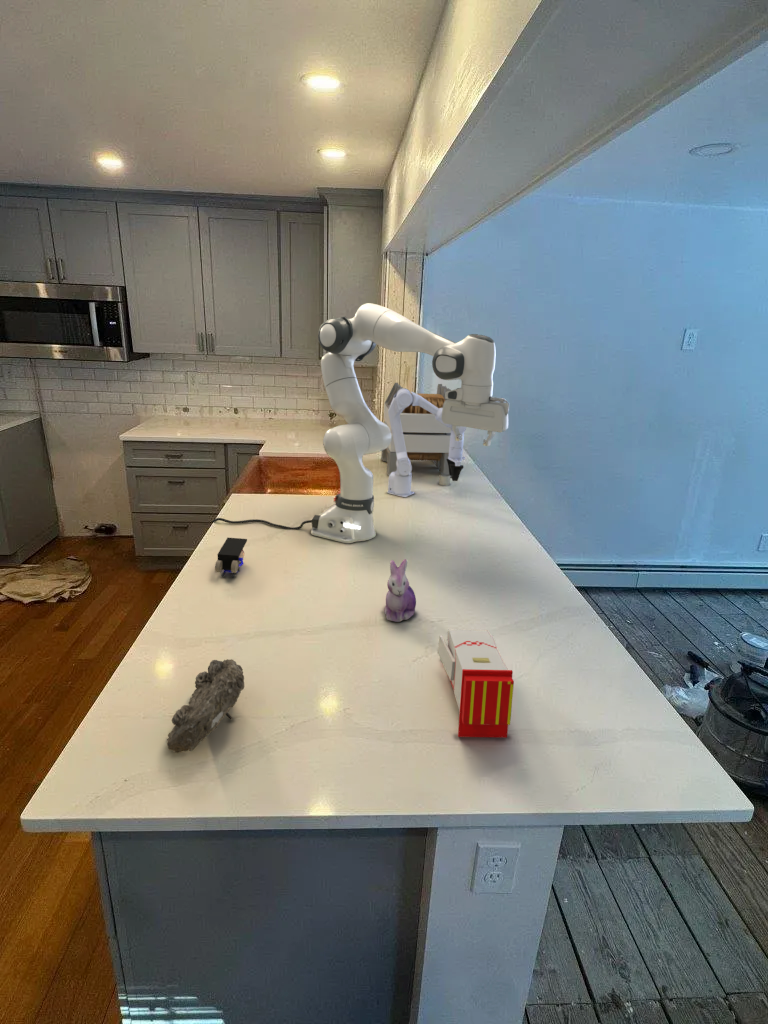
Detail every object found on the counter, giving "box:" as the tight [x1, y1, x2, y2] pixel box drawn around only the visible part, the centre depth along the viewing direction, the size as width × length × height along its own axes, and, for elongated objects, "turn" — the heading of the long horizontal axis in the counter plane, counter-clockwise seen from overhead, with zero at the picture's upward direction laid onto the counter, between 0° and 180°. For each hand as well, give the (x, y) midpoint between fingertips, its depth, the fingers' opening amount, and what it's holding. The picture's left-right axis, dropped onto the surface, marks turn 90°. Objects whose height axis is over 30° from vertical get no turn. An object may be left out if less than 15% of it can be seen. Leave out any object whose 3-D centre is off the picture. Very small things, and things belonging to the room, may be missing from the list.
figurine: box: [384, 558, 417, 623], centre depth 145 cm, size 9×10×15 cm
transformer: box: [381, 382, 452, 478], centre depth 277 cm, size 34×33×41 cm
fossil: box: [166, 658, 245, 754], centre depth 106 cm, size 22×10×15 cm
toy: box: [437, 628, 515, 738], centre depth 117 cm, size 12×13×30 cm
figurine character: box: [214, 537, 248, 578], centre depth 166 cm, size 7×8×15 cm
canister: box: [438, 473, 451, 487], centre depth 259 cm, size 5×5×4 cm
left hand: (472, 443), depth 164 cm, fingers open, 8 cm apart
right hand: (453, 478), depth 241 cm, fingers open, 7 cm apart
